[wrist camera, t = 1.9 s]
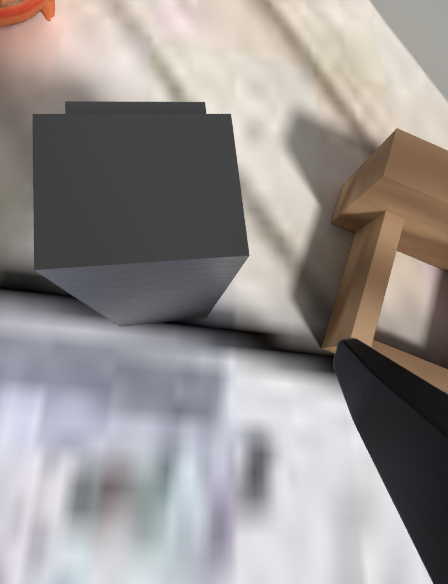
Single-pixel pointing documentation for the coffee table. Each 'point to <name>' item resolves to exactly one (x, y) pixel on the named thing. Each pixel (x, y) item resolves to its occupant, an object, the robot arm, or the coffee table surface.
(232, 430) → the coffee table surface
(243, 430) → the coffee table surface
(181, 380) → the coffee table surface
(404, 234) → the brown wooden frame
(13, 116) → the coffee table surface
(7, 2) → the pot
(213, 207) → the stepped grey pillar
